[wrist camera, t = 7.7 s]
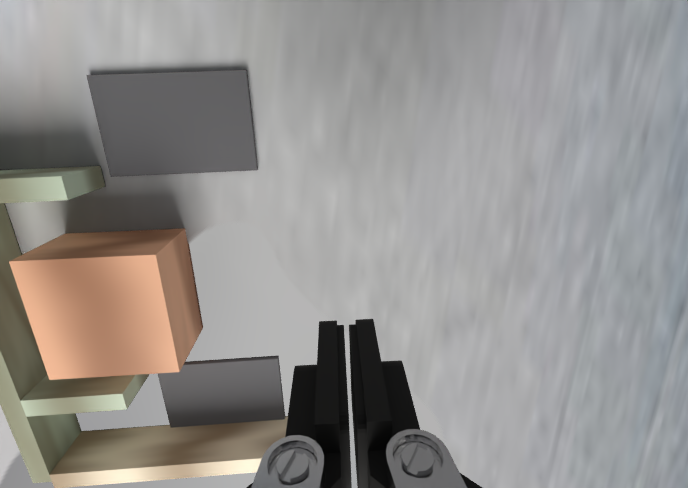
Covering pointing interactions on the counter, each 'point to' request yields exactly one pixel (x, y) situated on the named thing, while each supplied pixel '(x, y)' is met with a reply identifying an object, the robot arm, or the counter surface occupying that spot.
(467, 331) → the counter surface
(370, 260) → the counter surface
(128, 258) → the block
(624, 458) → the counter surface
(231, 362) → the plate
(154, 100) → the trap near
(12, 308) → the green-grey pronged frame
